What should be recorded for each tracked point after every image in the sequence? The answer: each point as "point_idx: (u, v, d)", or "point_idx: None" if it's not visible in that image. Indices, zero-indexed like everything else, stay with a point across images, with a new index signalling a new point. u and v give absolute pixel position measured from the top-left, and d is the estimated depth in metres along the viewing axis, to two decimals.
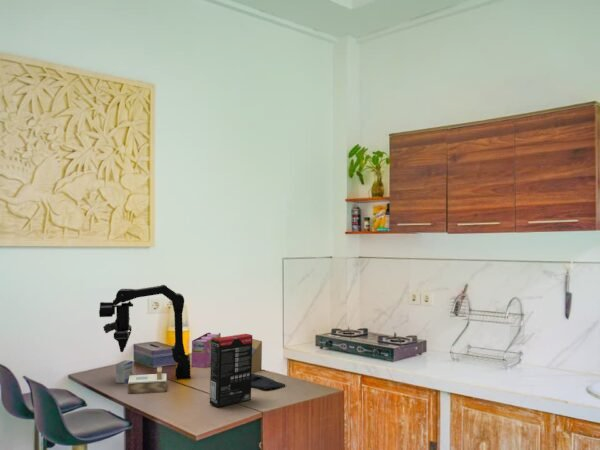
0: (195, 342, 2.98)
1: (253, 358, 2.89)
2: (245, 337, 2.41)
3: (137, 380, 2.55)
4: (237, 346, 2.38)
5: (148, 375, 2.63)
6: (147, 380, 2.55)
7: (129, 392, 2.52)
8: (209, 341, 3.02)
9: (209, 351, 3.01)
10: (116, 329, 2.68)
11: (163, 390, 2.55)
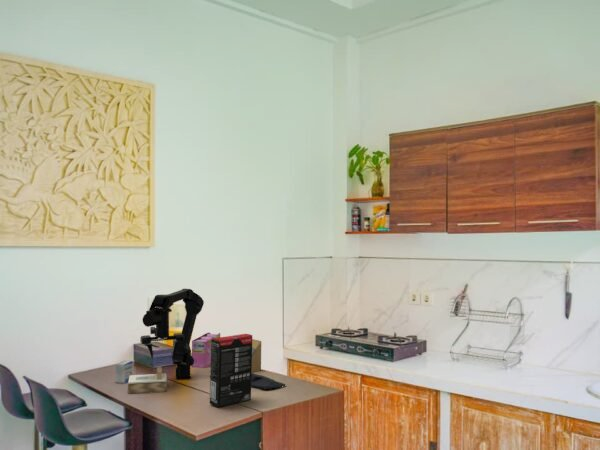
0: (195, 342, 2.98)
1: (253, 358, 2.88)
2: (245, 337, 2.41)
3: (137, 380, 2.55)
4: (237, 346, 2.38)
5: (148, 375, 2.63)
6: (147, 380, 2.55)
7: (129, 392, 2.52)
8: (209, 341, 3.02)
9: (209, 351, 3.02)
10: (155, 334, 2.65)
11: (163, 390, 2.55)
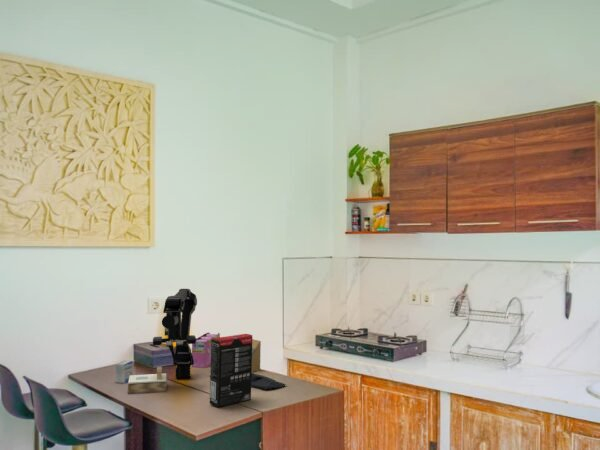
0: None
1: (252, 358, 2.88)
2: (245, 337, 2.41)
3: (137, 380, 2.55)
4: (237, 346, 2.38)
5: (148, 375, 2.63)
6: (147, 380, 2.55)
7: (129, 392, 2.52)
8: (209, 341, 3.02)
9: (209, 351, 3.02)
10: None
11: (163, 390, 2.55)
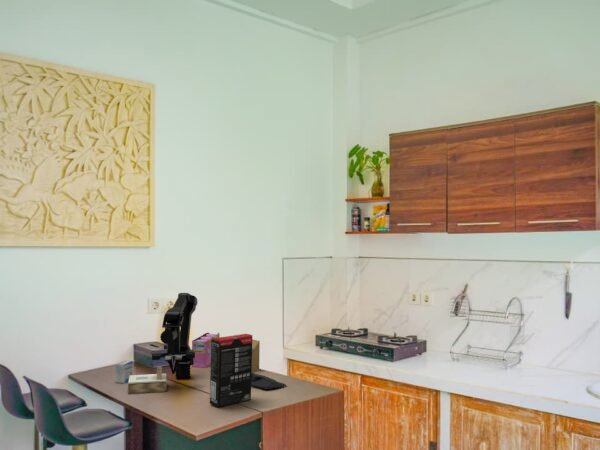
0: (195, 342, 2.98)
1: None
2: (245, 337, 2.41)
3: (137, 380, 2.55)
4: (237, 346, 2.38)
5: (148, 375, 2.63)
6: (147, 380, 2.55)
7: (129, 392, 2.52)
8: (209, 341, 3.02)
9: (209, 351, 3.02)
10: None
11: (163, 390, 2.55)
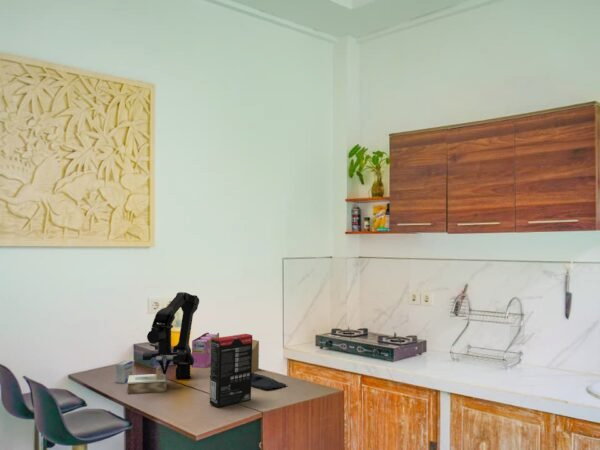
0: (195, 342, 2.98)
1: None
2: (245, 337, 2.41)
3: (136, 380, 2.55)
4: (237, 346, 2.38)
5: (147, 375, 2.63)
6: (146, 380, 2.55)
7: (129, 392, 2.52)
8: (209, 341, 3.02)
9: (209, 351, 3.02)
10: None
11: (163, 390, 2.55)
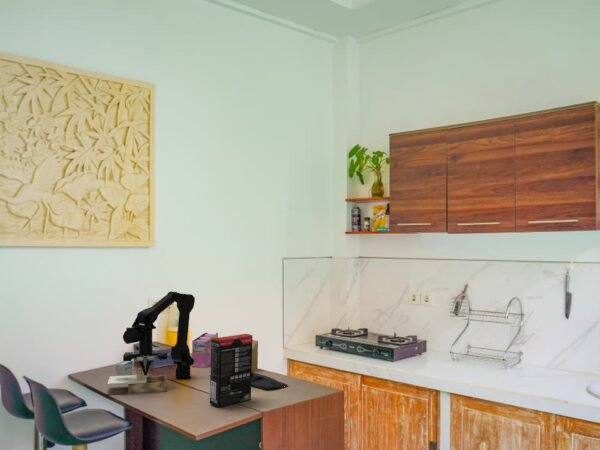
0: (196, 342, 2.98)
1: None
2: (245, 337, 2.41)
3: (117, 381, 2.53)
4: (237, 346, 2.38)
5: (128, 376, 2.61)
6: (127, 381, 2.53)
7: (129, 392, 2.52)
8: (209, 341, 3.02)
9: (209, 351, 3.02)
10: None
11: (163, 390, 2.55)
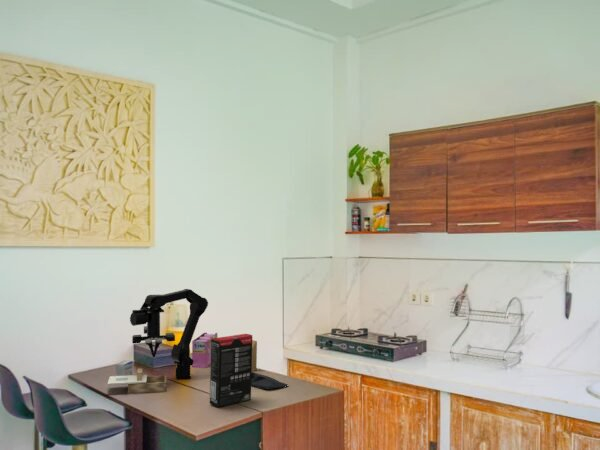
0: (196, 342, 2.97)
1: None
2: (245, 337, 2.41)
3: (117, 381, 2.53)
4: (237, 346, 2.38)
5: (128, 376, 2.61)
6: (127, 381, 2.53)
7: (129, 392, 2.52)
8: (209, 341, 3.02)
9: (209, 351, 3.02)
10: None
11: (163, 390, 2.55)
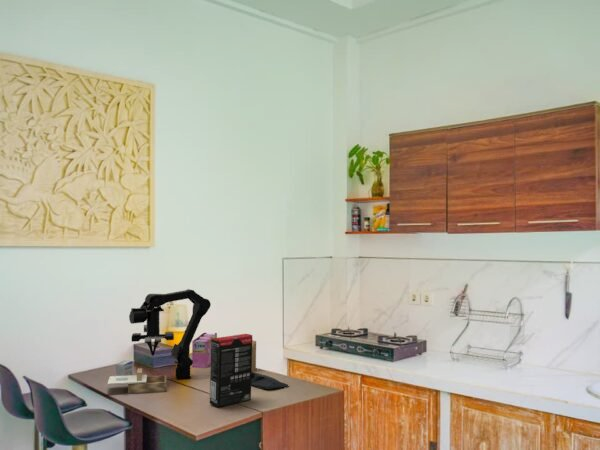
0: (196, 342, 2.97)
1: None
2: (245, 337, 2.41)
3: (117, 381, 2.53)
4: (237, 346, 2.38)
5: (128, 376, 2.61)
6: (127, 381, 2.53)
7: (129, 392, 2.52)
8: (209, 341, 3.02)
9: (209, 351, 3.02)
10: None
11: (163, 390, 2.55)
